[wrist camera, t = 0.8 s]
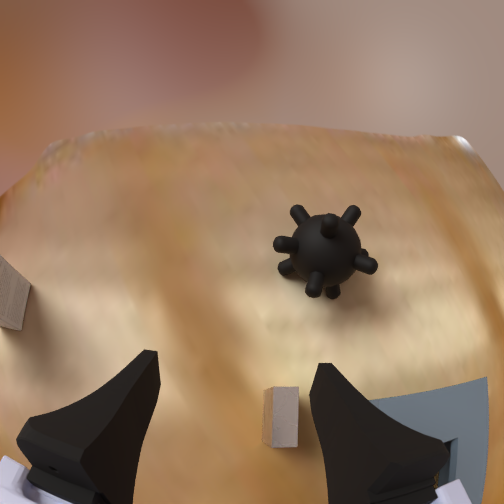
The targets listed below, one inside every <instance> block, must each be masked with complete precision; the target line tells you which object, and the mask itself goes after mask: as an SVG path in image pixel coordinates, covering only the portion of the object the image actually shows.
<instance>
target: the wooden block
mask: <svg viewBox="0 0 504 504" xmlns="http://www.w3.org/2000/svg"><path fill="white" fill-rule="evenodd" d="M298 405H299V387H271V388H269V389H266V390H264V394H263V422H262V441H263V442H264V443H266V444H267V445H268V446H270V447H271V448H282V447H297V443H298Z"/></svg>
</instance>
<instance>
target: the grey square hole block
mask: <svg viewBox="0 0 504 504" xmlns="http://www.w3.org/2000/svg"><path fill="white" fill-rule="evenodd" d="M369 401H370V402H371V403H372V404H373V405H374V406H376V407H377V408H378V409H380V410H381V411H382V412H384V413H385V414H387V415H388V416H390V417H391V418H393V419H394V420H396V421H398V422H400V423H401V424H403V425H405V426H407V427H409V428H411V429H413V430H415V431H418V432H420V433H422V434H425V435H428V436H431V437H434V438H437V439H440V440H442V442H443V443H444V445H445V447H446V449H447V450H448V452H449V455H450V457H449V459H448V461H447V463H446V464H445V465H444V466H443V467H442V468H441V469H440V471H439V479H438V488H439V487H441V486H443V485H445V484H447V483H450V482H452V481H454V480H457V479H460V481H461V483H462V485H463V487H464V489H465V491H466V493H467V495H468V497H469V499H470V501H471V503H472V504H481V502H482V497H483V490H484V483H485V476H486V466H487V455H488V435H489V404H488V384H487V377H484V378H480V379H477V380H473V381H470V382H466V383H462V384H458V385H454V386H449V387H445V388H441V389H436V390H431V391H426V392H421V393H415V394H409V395H403V396H397V397H390V398H383V399H375V400H369Z"/></svg>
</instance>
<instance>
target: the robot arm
mask: <svg viewBox="0 0 504 504" xmlns="http://www.w3.org/2000/svg"><path fill="white" fill-rule="evenodd" d="M160 385H161V382H160V373H159V363H158V353H157V351H151V350H145V349H144V350H143V351H142V352H141V353H140V354H139V355H138V356H137V357H136V358H135V359H134V360H133V361H132V362H130V363H129V364H128V365H127V366H126V367H125V368H124V369H123V370H122V371H120V372H119V373H118V374H117V375H116V376H115V377H113V378H112V379H111V380H110V381H108V382H107V383H106V384H105V385H103V386H102V387H100V388H99V389H98V390H96V391H95V392H93V393H91V394H90V395H88V396H86V397H85V398H83V399H81V400H79V401H77V402H75V403H73V404H71V405H69V406H66V407H64V408H61V409H58V410H56V411H53V412H50V413H46V414H42V415H38V416H34V417H30V418H29V419H28V421H27V422H26V423H25V425H24V427H23V428H22V430H21V432H20V433H19V435H18V437H17V439H16V441H17V445H18V447H19V448H20V450H21V451H22V453H23V454H24V455H25V457H26V458H27V459H28V460H29V462H30V463H31V464H32V467H31V469H30V470H29V469H27V468H26V467H25V466H23V465H22V464H20V463H18V462H16V461H14V460H13V459H11V458H9V457H7V456H3V458H2V460H1V462H0V504H133V494H134V486H135V479H136V473H137V467H138V462H139V457H140V452H141V447H142V444H143V440H144V437H145V434H146V431H147V429H148V426H149V423H150V420H151V417H152V415H153V412H154V409H155V406H156V403H157V399H158V395H159V390H160ZM309 396H310V404H311V411H312V416H313V420H314V423H315V427H316V430H317V434H318V437H319V441H320V444H321V448H322V452H323V456H324V463H325V470H326V478H327V488H328V502H329V504H472V503H471V501H470V499H469V497H468V495H467V493H466V491H465V489H464V487H463V485H462V483H461V481H460V479H457V480H454V481H452V482H450V483H447V484H445V485H443V486H441V487H439V488H437V489H436V490H435V489H434V487H433V485H434V484H435V483H436V481H435V479H434V476H435V475H436V474H437V473H438V472H439V471H440V469H441V468H442V467H443V466H444V465H445V464H446V463H447V461H448V459H449V457H450V455H449V452H448V450H447V449H446V447H445V445H444V443H443V442H442V440H440V439H437V438H434V437H431V436H428V435H425V434H422V433H420V432H418V431H415V430H413V429H411V428H409V427H407V426H405V425H403V424H401V423H400V422H398V421H396V420H394V419H393V418H391V417H390V416H388V415H387V414H385V413H384V412H382V411H381V410H380V409H378V408H377V407H376V406H374V405H373V404H372V403H371V402H370V401H369V400H367V399H366V398H365V397H364V396H363V395H362V394H361V393H360V392H359V391H358V390H357V389H356V388H355V387H354V386H353V385H352V384H351V383H350V382H349V381H348V380H347V379H346V378H345V377H344V376H343V375H342V374H341V373H340V372H339V371H338V370H337V368H336V367H335V366H334V365H333V364H332V363H319V364H318V368H317V371H316V374H315V378H314V381H313V384H312V387H311V391H310V394H309Z"/></svg>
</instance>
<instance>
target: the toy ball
mask: <svg viewBox="0 0 504 504" xmlns="http://www.w3.org/2000/svg"><path fill="white" fill-rule="evenodd" d="M290 215H291V217H292V218H293V219H294V221H295V222H296V224H297V225H298V228H297V229H296V230H295V232H294V234H293V236H292V237H286V236H278V237H276V238H275V240H274V242H273V247H274V250H275V251H276V252H278V253H287V254H290V258H289V259H286V260H284V261H282V262H280V263H279V264H278V271H279V273H280V274H281V275H288V274H290V273H292V272H295V271H296V272H297V273H298V274H299V275H300V277H301V278H302V279H304V280H305V281H306V282H307V285H306V289H305V293H306V294H307V295H308V296H309V297H312V298H316V297H319V296H320V295H321V292H322V289H323V287H326V293H327V296H328V298H330V299H335V298H337V297H338V296H339V295H340V285H339V284H340V283H343V282H345V281H346V280H348V279H349V277H350V276H351V275H352V274H353V273H354V272H355V271H356V270H358V271H361V272H364V273H366V274H369V275H372V274H374V273H375V272H376V271H377V268H378V263H377V261H376V260H375V259H374V258H371V257H368V252H367V251H366V249H362V248H361V243H360V239H359V237H358V235H357V233H356V231H355V229H354V228H353V226H354V225H355V223H356V222H357V220H358V219H359V217H360V216H361V211H360V209H359V208H358V207H357V206H355V205H351V206H349V207H348V208H347V210H346V211H345V213H344V214H343V215H342V217H341V218H340V217H339V216H336V215H335V214H331V213H328V214H324V215H315V216H312V217H310V216H309V214H308V213H307V212H306V210H305V209H304V207H303V206H302V205H294V206H293V207H292V208H291V210H290Z"/></svg>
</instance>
